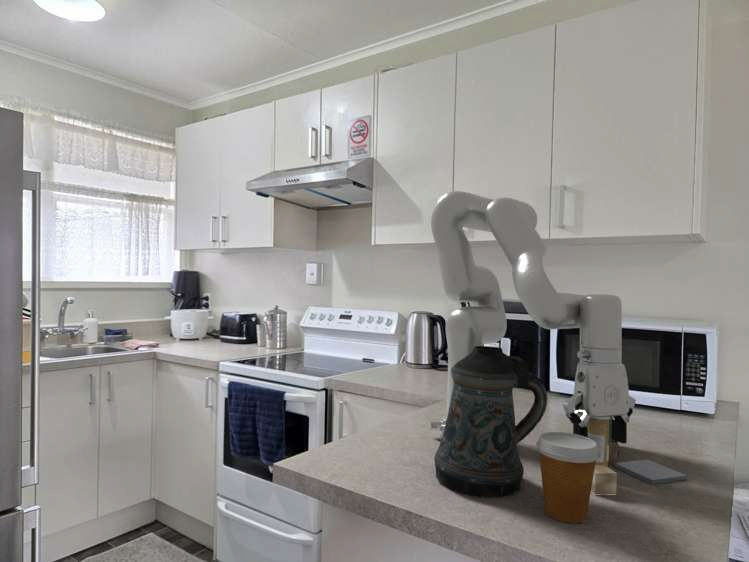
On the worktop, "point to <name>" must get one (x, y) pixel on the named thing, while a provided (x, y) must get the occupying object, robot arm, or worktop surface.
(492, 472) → the beer stein
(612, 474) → the beech block
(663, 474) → the slate coaster
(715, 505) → the worktop surface
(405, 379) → the worktop surface
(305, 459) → the worktop surface
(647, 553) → the worktop surface
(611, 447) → the walnut block
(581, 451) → the disposable coffee cup
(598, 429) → the sprinkles bottle
